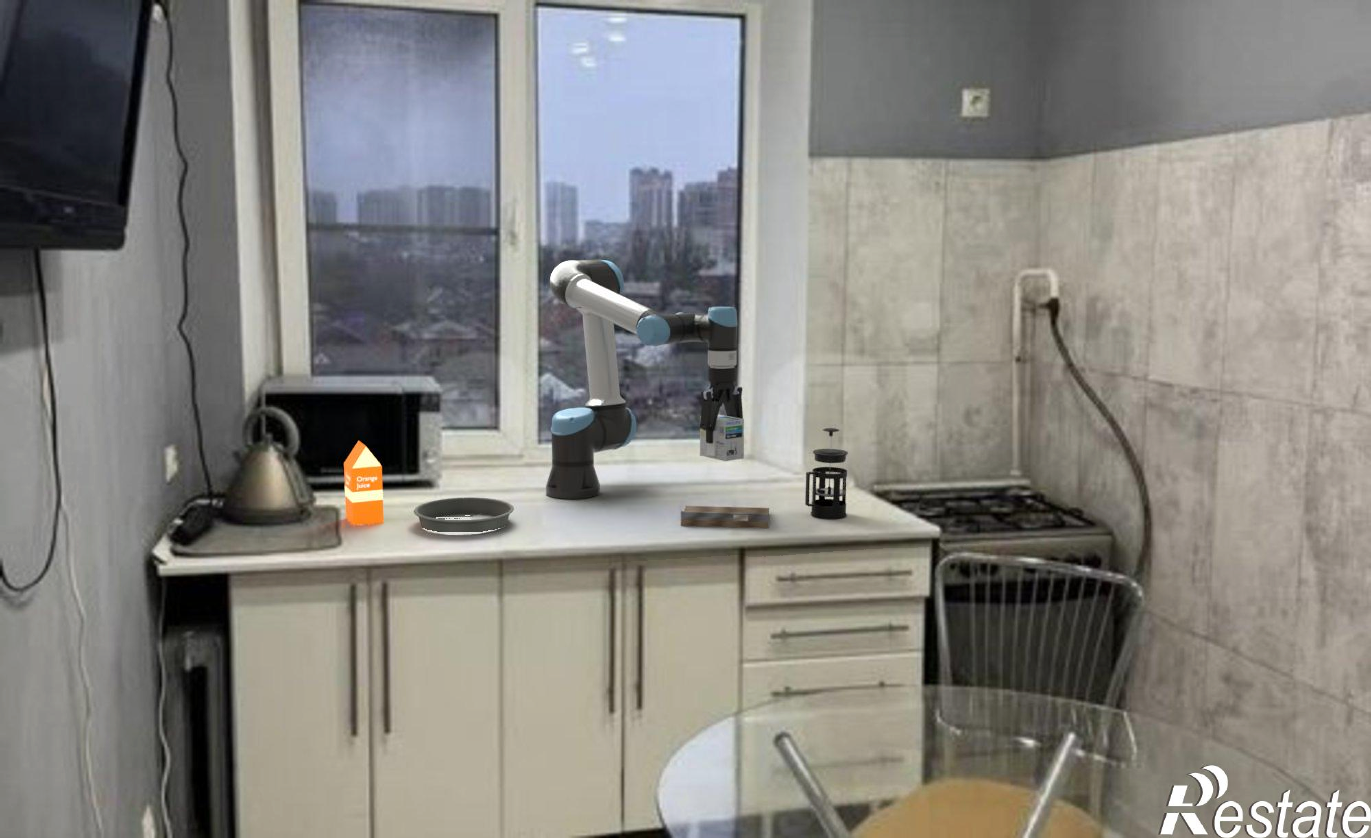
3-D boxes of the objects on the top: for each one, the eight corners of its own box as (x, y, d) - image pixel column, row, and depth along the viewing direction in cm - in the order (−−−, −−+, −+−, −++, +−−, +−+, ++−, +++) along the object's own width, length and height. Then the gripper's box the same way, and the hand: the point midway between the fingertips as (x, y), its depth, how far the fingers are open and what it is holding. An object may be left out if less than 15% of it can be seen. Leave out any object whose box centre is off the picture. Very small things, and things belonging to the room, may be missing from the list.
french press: (839, 509, 316) (841, 424, 312) (855, 517, 307) (858, 430, 303) (798, 512, 312) (801, 426, 308) (813, 521, 303) (816, 432, 300)
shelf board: (680, 525, 297) (680, 512, 297) (685, 511, 312) (685, 498, 312) (768, 528, 296) (768, 514, 295) (769, 513, 311) (769, 500, 310)
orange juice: (353, 526, 294) (349, 447, 291) (345, 518, 302) (342, 441, 299) (384, 522, 298) (381, 444, 295) (376, 514, 306) (373, 438, 302)
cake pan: (471, 543, 281) (471, 525, 280) (393, 529, 292) (392, 511, 292) (533, 521, 302) (533, 504, 301) (458, 509, 314) (458, 492, 313)
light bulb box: (744, 459, 309) (745, 418, 308) (725, 462, 305) (725, 420, 304) (717, 452, 318) (718, 413, 316) (698, 455, 313) (698, 415, 312)
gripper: (707, 371, 298) (706, 460, 302) (758, 364, 312) (757, 450, 316) (685, 368, 303) (685, 456, 307) (736, 362, 317) (735, 446, 321)
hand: (721, 453), depth 311 cm, fingers closed on light bulb box, 7 cm apart
